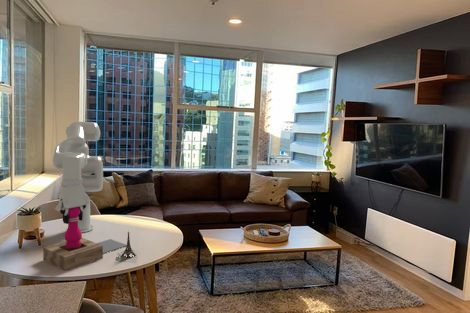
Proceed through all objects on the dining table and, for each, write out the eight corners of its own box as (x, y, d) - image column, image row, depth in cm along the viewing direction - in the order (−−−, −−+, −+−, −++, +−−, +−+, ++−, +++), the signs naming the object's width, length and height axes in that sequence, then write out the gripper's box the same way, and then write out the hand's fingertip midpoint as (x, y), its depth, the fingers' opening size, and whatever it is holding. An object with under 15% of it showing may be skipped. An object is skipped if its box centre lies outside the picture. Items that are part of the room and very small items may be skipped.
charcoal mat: (86, 247, 175) (86, 246, 175) (110, 239, 187) (110, 239, 187) (103, 254, 167) (103, 253, 167) (127, 246, 179) (127, 245, 179)
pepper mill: (65, 243, 162) (64, 201, 160) (82, 242, 165) (81, 200, 163) (64, 249, 156) (63, 205, 153) (82, 247, 159) (81, 204, 156)
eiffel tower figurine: (118, 251, 172) (118, 225, 171) (139, 251, 174) (140, 224, 173) (113, 264, 158) (113, 235, 156) (137, 263, 159) (137, 234, 158)
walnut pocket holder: (43, 260, 158) (43, 247, 158) (80, 248, 173) (80, 237, 172) (65, 270, 148) (64, 257, 147) (102, 258, 163) (102, 245, 162)
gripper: (85, 178, 166) (85, 215, 168) (48, 184, 152) (49, 224, 154) (94, 181, 162) (94, 219, 164) (57, 186, 148) (58, 228, 150)
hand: (72, 221), depth 159 cm, fingers closed on pepper mill, 5 cm apart
